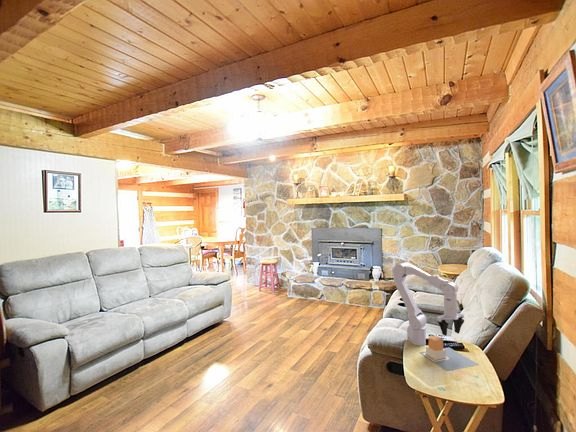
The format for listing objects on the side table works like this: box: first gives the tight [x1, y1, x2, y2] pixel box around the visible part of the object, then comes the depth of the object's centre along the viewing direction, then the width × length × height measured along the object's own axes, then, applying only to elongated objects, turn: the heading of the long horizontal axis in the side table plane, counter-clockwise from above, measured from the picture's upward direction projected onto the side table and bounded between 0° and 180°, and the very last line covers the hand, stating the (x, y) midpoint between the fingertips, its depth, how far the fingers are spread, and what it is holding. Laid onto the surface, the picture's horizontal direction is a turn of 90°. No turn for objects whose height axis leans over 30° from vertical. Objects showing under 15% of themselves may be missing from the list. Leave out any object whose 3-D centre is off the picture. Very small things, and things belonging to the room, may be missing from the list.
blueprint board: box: [419, 346, 480, 372], centre depth 146 cm, size 18×18×1 cm
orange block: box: [428, 335, 444, 351], centre depth 148 cm, size 4×4×5 cm
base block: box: [425, 345, 446, 360], centre depth 148 cm, size 6×6×4 cm
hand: (450, 333), depth 151 cm, fingers open, 7 cm apart
